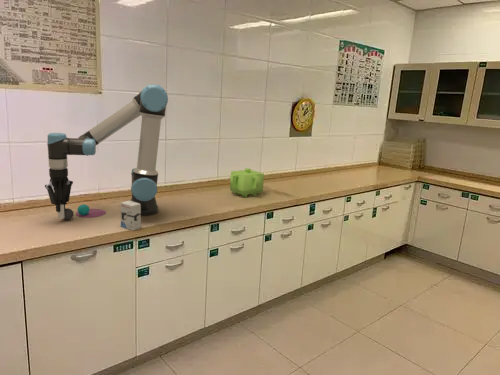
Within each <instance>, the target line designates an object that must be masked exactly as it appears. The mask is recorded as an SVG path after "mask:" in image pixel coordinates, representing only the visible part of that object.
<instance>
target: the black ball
mask: <svg viewBox="0 0 500 375" xmlns="http://www.w3.org/2000/svg"><path fill="white" fill-rule="evenodd" d="M74 215H75V214H74V210H72V209H71V208H69V207H67V208H66V207H65V211H64V217H65V218H63V219H62V220H64V221H70V220H71V219H73V217H74Z"/></svg>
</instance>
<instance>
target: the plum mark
mask: <svg viewBox="0 0 500 375" xmlns="http://www.w3.org/2000/svg"><path fill="white" fill-rule="evenodd" d="M89 209H90V211H89V213H88V214H87V215H84V216H83V215H80V214H79V213H78V211H76V212H75V215H76V216H77V217H79V218H97V217H102V216H104V215H106V213H107V212H106V211H105V210H104V209H103V208H89Z"/></svg>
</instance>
